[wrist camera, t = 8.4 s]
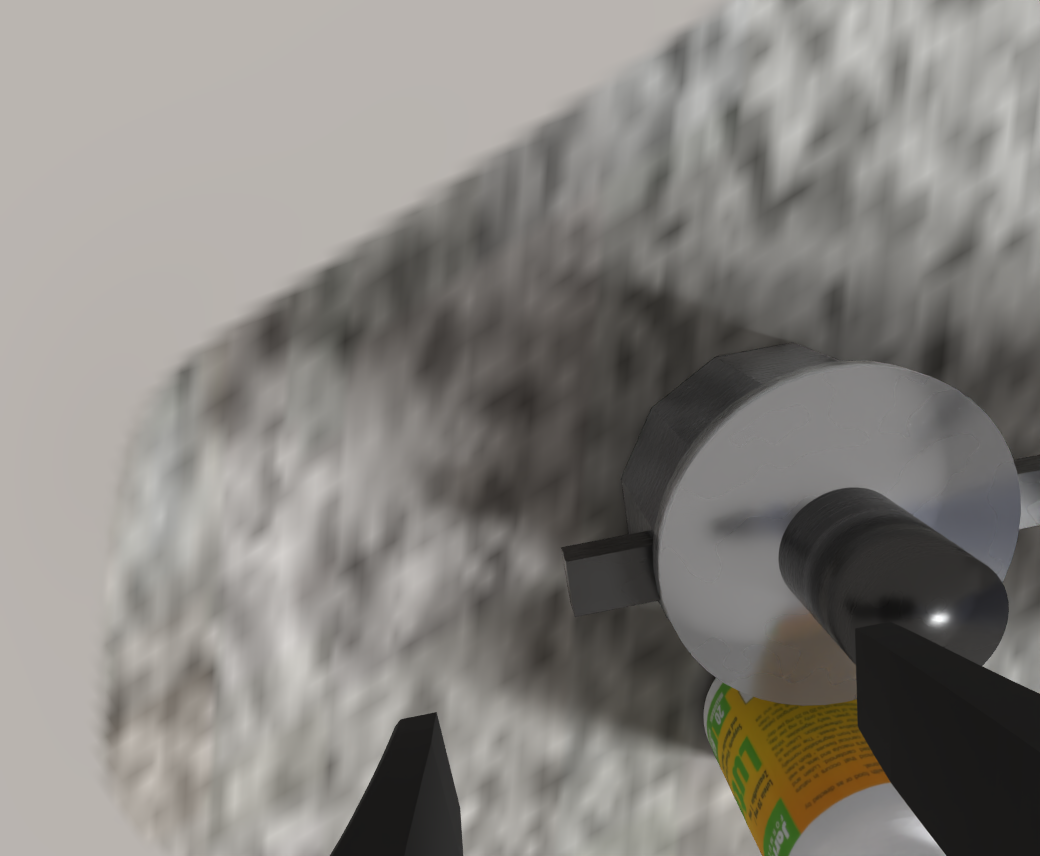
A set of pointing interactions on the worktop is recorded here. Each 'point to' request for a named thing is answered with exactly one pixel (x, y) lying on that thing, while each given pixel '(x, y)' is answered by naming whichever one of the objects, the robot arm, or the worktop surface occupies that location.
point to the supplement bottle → (809, 779)
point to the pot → (661, 445)
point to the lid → (836, 528)
